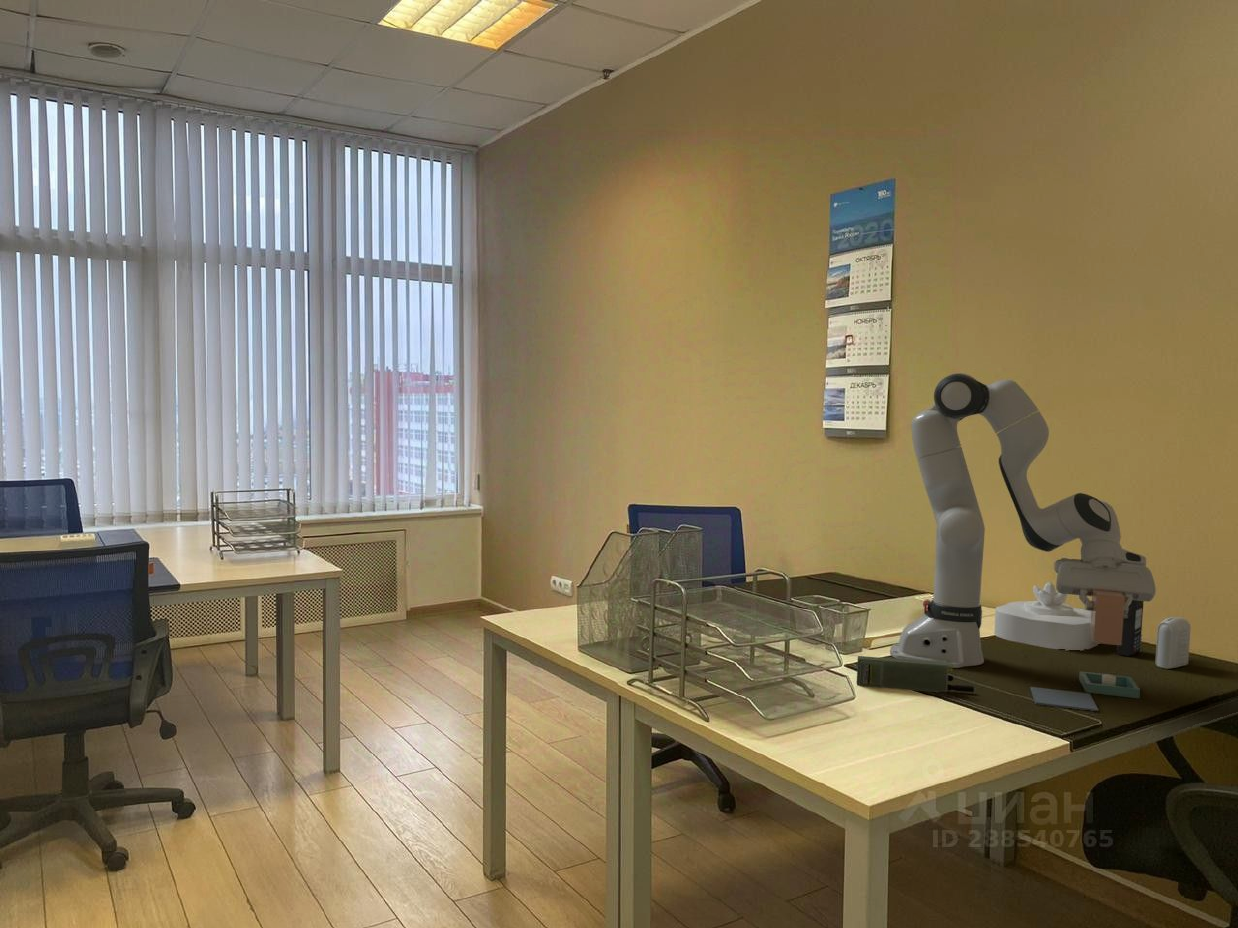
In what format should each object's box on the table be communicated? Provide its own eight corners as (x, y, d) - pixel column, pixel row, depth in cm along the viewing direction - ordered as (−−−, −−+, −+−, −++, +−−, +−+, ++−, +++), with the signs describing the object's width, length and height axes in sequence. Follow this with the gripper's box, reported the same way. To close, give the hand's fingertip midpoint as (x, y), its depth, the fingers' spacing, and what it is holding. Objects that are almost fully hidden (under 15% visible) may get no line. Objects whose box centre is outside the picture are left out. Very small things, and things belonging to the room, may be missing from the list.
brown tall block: (1093, 642, 205) (1096, 594, 204) (1089, 636, 210) (1092, 589, 210) (1121, 645, 203) (1124, 596, 202) (1116, 639, 208) (1119, 592, 208)
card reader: (1132, 657, 237) (1135, 600, 236) (1115, 654, 240) (1118, 598, 239) (1142, 652, 243) (1145, 596, 242) (1125, 648, 246) (1129, 593, 245)
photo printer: (1172, 661, 235) (1175, 613, 234) (1190, 665, 231) (1193, 616, 231) (1152, 666, 229) (1155, 617, 229) (1170, 670, 226) (1173, 621, 225)
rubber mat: (1035, 704, 195) (1035, 702, 195) (1030, 688, 206) (1030, 686, 206) (1098, 712, 191) (1098, 709, 191) (1089, 695, 202) (1089, 693, 202)
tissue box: (1078, 654, 239) (1082, 594, 238) (984, 636, 257) (987, 579, 256) (1109, 640, 257) (1112, 583, 256) (1019, 623, 275) (1022, 570, 274)
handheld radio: (856, 683, 208) (971, 692, 203) (857, 687, 204) (974, 697, 200) (857, 654, 207) (973, 663, 202) (858, 658, 204) (976, 667, 199)
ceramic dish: (1086, 692, 205) (1086, 679, 205) (1079, 679, 215) (1079, 667, 215) (1139, 698, 202) (1140, 685, 201) (1129, 685, 212) (1130, 672, 211)
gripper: (1055, 549, 216) (1058, 598, 208) (1153, 557, 210) (1160, 607, 201) (1052, 565, 221) (1054, 613, 212) (1147, 573, 214) (1154, 623, 206)
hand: (1106, 610), depth 207 cm, fingers closed on brown tall block, 6 cm apart
